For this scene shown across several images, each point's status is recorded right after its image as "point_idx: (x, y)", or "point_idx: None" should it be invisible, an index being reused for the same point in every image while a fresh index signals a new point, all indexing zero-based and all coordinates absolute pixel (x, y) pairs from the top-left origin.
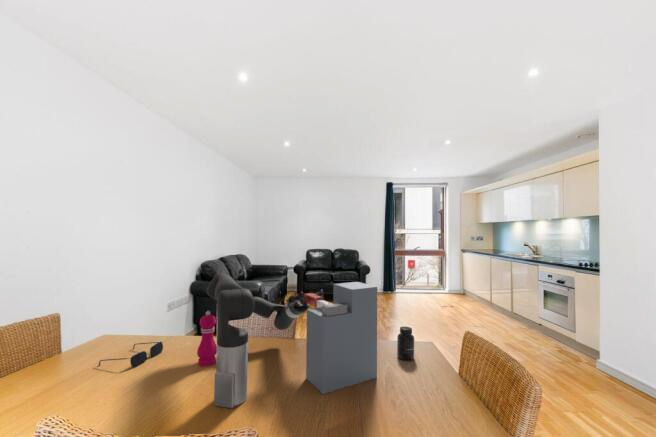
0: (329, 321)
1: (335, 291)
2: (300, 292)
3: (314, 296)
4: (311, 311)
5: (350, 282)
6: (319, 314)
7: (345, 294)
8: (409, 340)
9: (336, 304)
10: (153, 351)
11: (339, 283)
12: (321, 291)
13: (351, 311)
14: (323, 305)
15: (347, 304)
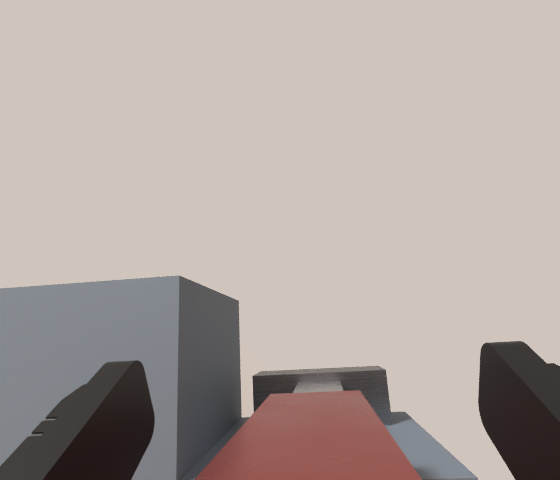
0: None
1: (190, 335)
2: (534, 355)
3: (323, 406)
4: (445, 450)
5: (21, 288)
6: (408, 426)
7: (225, 333)
8: None
9: (304, 371)
10: None
11: (122, 280)
12: (146, 382)
13: (240, 409)
14: (379, 370)
15: (231, 385)
